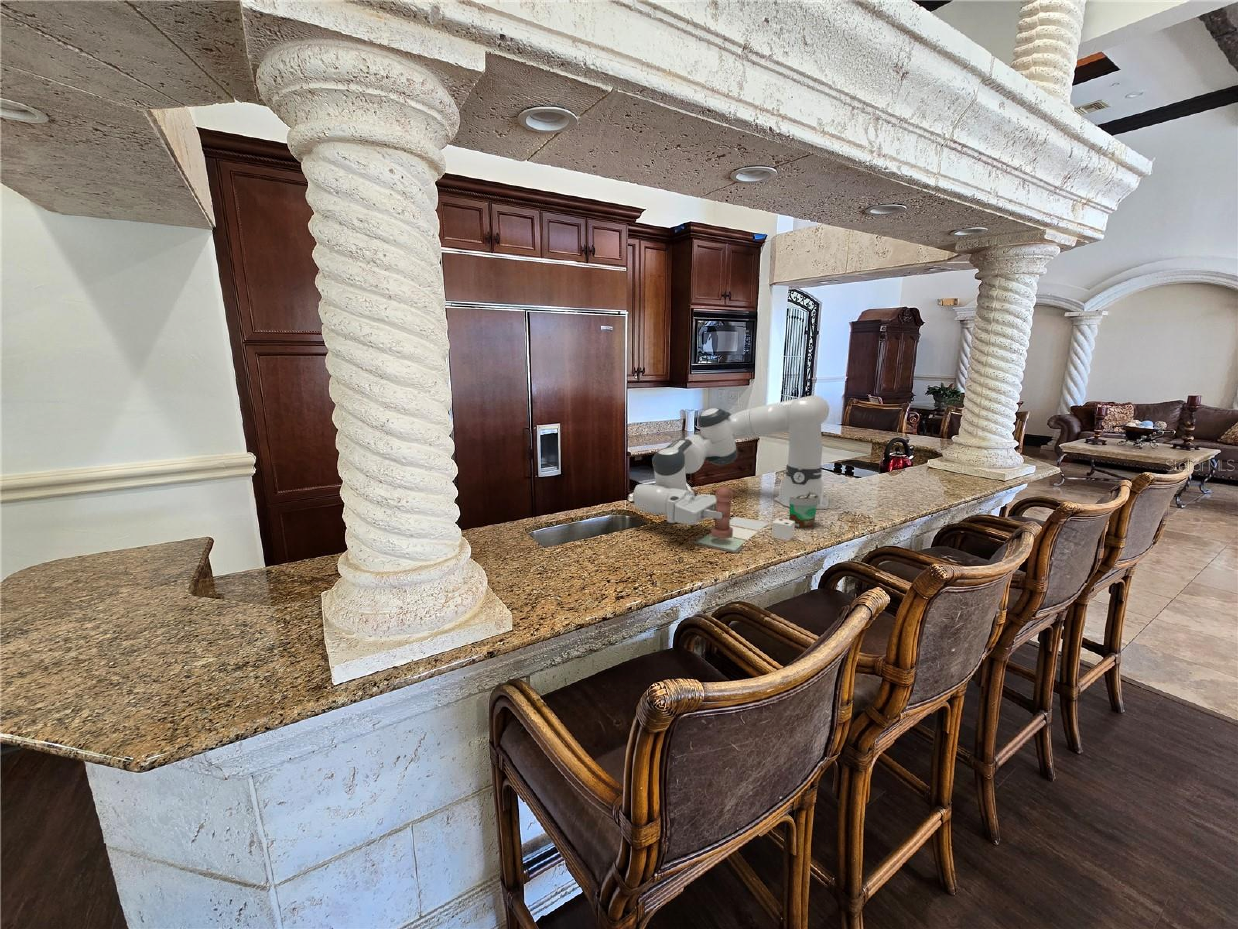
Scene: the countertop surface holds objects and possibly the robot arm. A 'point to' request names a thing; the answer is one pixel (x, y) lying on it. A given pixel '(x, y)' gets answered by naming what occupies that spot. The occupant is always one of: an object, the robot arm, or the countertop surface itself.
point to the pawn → (724, 505)
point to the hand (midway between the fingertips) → (726, 513)
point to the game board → (732, 543)
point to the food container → (804, 510)
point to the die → (783, 529)
